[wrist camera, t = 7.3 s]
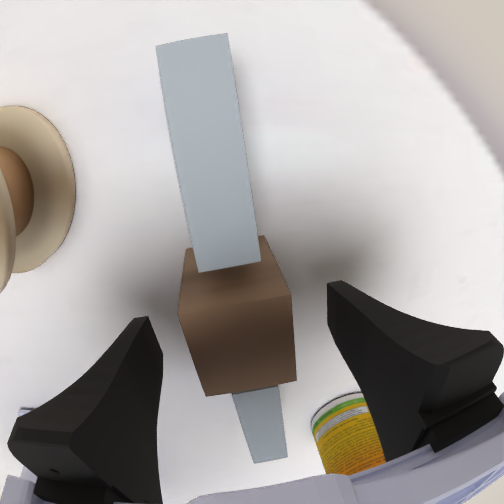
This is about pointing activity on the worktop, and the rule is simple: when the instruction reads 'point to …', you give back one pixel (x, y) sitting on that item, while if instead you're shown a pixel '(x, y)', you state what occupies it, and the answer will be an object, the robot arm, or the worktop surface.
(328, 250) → the worktop surface
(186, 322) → the block
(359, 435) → the supplement bottle
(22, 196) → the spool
